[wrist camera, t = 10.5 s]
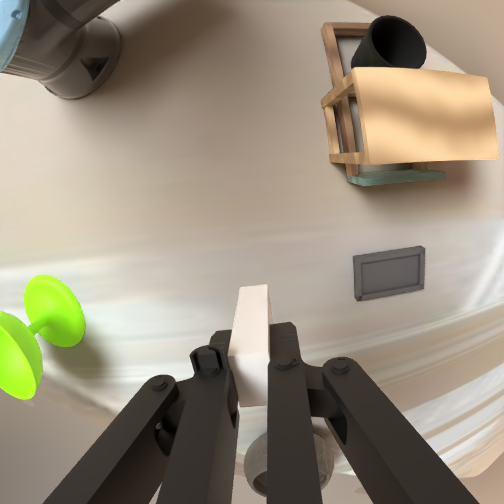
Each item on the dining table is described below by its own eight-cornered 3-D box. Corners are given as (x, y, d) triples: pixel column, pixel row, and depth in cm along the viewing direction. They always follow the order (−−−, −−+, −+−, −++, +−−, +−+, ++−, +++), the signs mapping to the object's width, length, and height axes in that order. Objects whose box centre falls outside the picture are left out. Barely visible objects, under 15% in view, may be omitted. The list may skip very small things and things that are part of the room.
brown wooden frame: (320, 100, 41) (354, 67, 24) (419, 98, 39) (487, 77, 22) (330, 162, 43) (370, 165, 26) (427, 155, 42) (498, 159, 25)
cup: (342, 42, 38) (364, 10, 26) (388, 48, 37) (421, 21, 26) (346, 88, 40) (372, 67, 28) (393, 93, 40) (430, 76, 28)
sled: (321, 30, 37) (331, 8, 29) (393, 31, 36) (413, 13, 28) (347, 181, 44) (363, 186, 36) (419, 175, 43) (445, 179, 35)
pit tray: (353, 255, 47) (355, 258, 46) (420, 245, 46) (425, 248, 45) (354, 297, 49) (357, 301, 47) (419, 285, 48) (423, 288, 46)
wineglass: (47, 350, 56) (2, 398, 38) (14, 284, 51) (-42, 321, 34) (98, 341, 54) (52, 399, 36) (62, 265, 49) (-1, 306, 32)
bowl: (324, 458, 61) (331, 500, 49) (248, 462, 62) (245, 504, 50) (332, 409, 56) (343, 457, 44) (242, 414, 57) (238, 463, 45)
